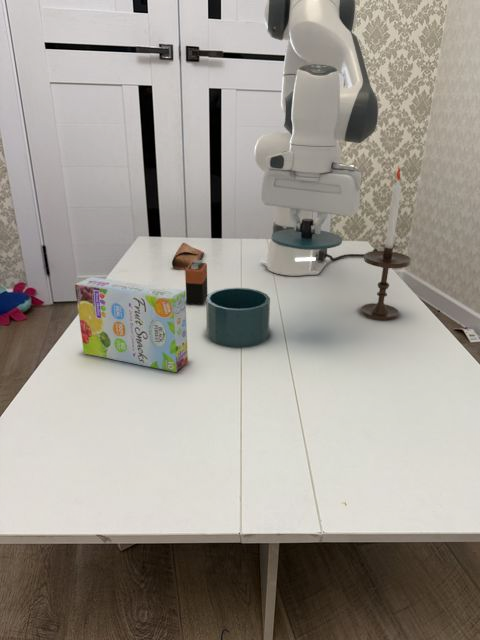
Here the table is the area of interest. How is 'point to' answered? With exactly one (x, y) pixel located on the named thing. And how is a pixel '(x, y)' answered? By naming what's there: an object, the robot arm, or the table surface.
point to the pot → (237, 317)
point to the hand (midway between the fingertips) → (306, 232)
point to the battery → (196, 282)
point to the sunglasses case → (186, 256)
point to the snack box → (133, 322)
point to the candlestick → (386, 262)
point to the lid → (306, 238)
